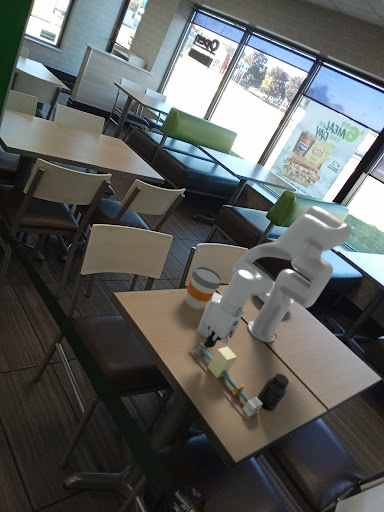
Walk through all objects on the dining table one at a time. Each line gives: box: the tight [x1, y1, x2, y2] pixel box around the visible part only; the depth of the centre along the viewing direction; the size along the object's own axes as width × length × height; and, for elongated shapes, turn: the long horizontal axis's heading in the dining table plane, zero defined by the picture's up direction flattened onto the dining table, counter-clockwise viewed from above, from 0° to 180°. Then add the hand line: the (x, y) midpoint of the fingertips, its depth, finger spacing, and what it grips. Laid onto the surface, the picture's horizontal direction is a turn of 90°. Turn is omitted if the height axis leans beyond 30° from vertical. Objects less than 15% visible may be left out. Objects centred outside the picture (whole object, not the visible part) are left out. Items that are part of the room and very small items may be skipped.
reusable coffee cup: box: [184, 265, 223, 310], centre depth 164 cm, size 13×13×15 cm
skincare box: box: [196, 292, 223, 339], centre depth 149 cm, size 8×7×16 cm
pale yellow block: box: [208, 346, 238, 378], centre depth 132 cm, size 5×5×8 cm
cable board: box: [188, 340, 262, 421], centre depth 131 cm, size 8×30×5 cm, turn 40°
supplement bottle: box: [256, 372, 290, 412], centre depth 128 cm, size 7×7×12 cm
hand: (208, 345), depth 134 cm, fingers closed
